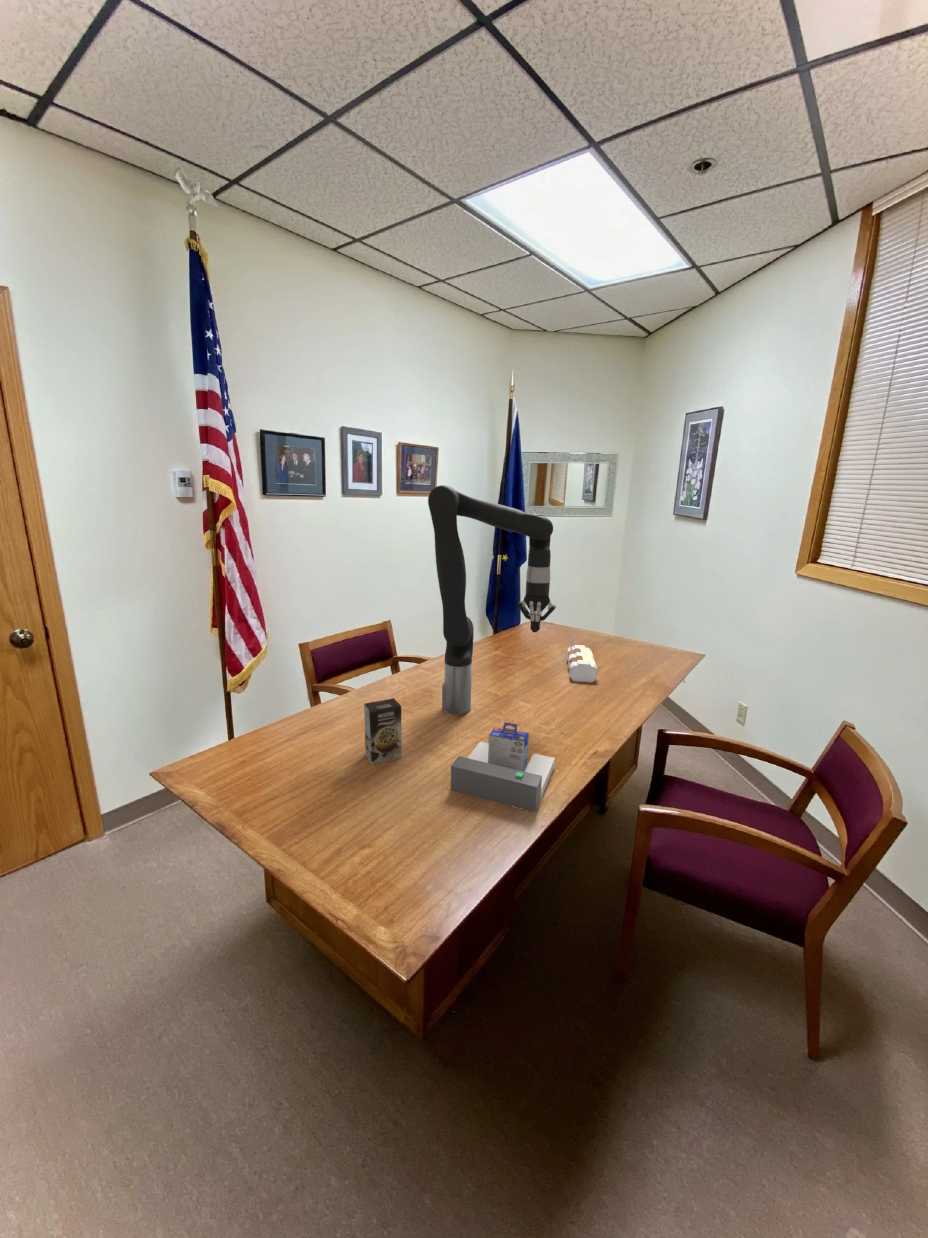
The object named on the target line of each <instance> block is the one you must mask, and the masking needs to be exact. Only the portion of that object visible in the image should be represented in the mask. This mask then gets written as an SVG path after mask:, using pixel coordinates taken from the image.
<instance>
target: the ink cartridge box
mask: <svg viewBox="0 0 928 1238" xmlns="http://www.w3.org/2000/svg"><path fill="white" fill-rule="evenodd" d="M508 726H509V727H512V728H514V729H512V728H507V727H508ZM529 733H530V732H526V731H520V730H518V724H516V723H512V722H506V721H504V723H503V726H502V728H501V727H493V729H492V730H491V732H490V733H489V735H488V743H489V748H488V763H490V764H494V765H498V766H503V767H507V768H511V769H515V770H520V771H525V769H526V767H527V765H528V754H529Z"/></svg>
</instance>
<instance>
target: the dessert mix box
mask: <svg viewBox="0 0 928 1238" xmlns="http://www.w3.org/2000/svg"><path fill="white" fill-rule="evenodd" d="M363 706H364V707H363V709H364V711H363V713H364V750H365V751H364V752H365V753H364V754H365V756H366V758H367V759H368V761H369V764H370V765H372V766H373V765H377V764H382V763H385V762H389V761H394V760H397V759H398V760H399V759H402V758H403V753H402V751H403V748H402V745H403V744H402V743H403V742H402V730H403V729H402V705H401V704H400V703H399V702H398V701H397V700H396V699H395V698H394V697H393V698H388V699H383V700H378V701H377V700H376V701H372V702H366V703H364V704H363Z"/></svg>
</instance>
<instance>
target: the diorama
mask: <svg viewBox="0 0 928 1238" xmlns="http://www.w3.org/2000/svg"><path fill="white" fill-rule="evenodd" d="M573 637H574V636H573V635H571V638H570V646H569V647H568V648H567V651H566V658H567V666H568V670H569V672H568V673H569V678H570V679H571V681H572V682H583V683H594V682H595V681H596V680H597V675H598V667H597V664H596V661H595V658H594V655H593V652H592V651H593V650H592V649H591V648H590V647H586V646H585V645H582V644H574V645H573ZM575 650H580V651H576V652H575ZM570 652H575V653H571V654H570ZM578 657H579V658H580V657H581V658H582V659H577V658H578ZM572 659H577V660H576V661H572V662H571V660H572Z"/></svg>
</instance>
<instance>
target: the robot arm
mask: <svg viewBox="0 0 928 1238" xmlns="http://www.w3.org/2000/svg"><path fill="white" fill-rule="evenodd" d="M427 497H428V498H427V503H428V509H429V514H430V517H431V521H432V526H433V531H434V550H435V555H434V556H435V564H436V573H437V580H438V586H439V588H438V589H439V593H440V598H441V603H442V620H443V621H442V622H443V623H442V629H443V630H442V632H443V633H442V634H443V638H444V639H445V641H446V646H445V653H444V682H443V683H442V687H441V689H442V690H441V693H442V696H441V697H442V698H441V702H442V703H441V710H442V711H445V712H447V713H449V714H450V715H451V714H452V715H463V714H467V713H469V712H470V711H471V710H472V709H471V708H472V707H471V706H472V675H473V674H472V672H473V671H472V670H473V668H472V667H473V666H472V663H473V653H474V652H473V651H474V630H475V629H474V624H473V622H472V620H471V618H469V616H467V612H466V611H467V610H466V589H467V570H466V561H465V560H466V559H465V555H464V550H463V546H462V542H461V539H460V536H459V530H458V519H457V517H458V516H459V517H465V518H469V519H473V520H476V521H478V522H481V523H482V524H483V523H484V524H486V525H489V526H492V527H495V528H498V529H500V530H501V529H502V530H505V531H509V532H514V533H518V534H520V535H523V536H526V537H528V539H529V542H528V543H529V544H528V545H529V548H528V549H529V550H528V555H527V556H528V557H527V570H526V575H525V577H526V579H525V580H526V581H525V596H524V597H523V600H522V601H519V602H518V603H517V605H516V606H517V608H518V609H519V610H520V611H521V613H522V615H523V616H524V618H525V619H527V620H529V621H530V631H531V632H532V633H536V634H537V633H538V632H539V631H540V629H541V622H542V621H546V619H548V617H549V616H550V614H552V613H553V612H554V611H555V610H556V609H557V606H556V605H555V604H553V603H552V602H551V599H550V588H551V586H550V583H551V556H552V555H551V548H550V546H551V536H552V534H553V533H554V525H553V522H552V521H551V520H550V519H549V518H547V517H546V516H543V515H537V514H534V513H533V514H532V513H527V512H524V511H523V510H521V509H517V508H514V507H512V506H511V507H510V506H506V505H503V504H499V503H493V502H490V501H485V500H481V499H478V498H474V497H471V496H469V495H467V494H464V493H462V492H460V491H458V490H455V488H453V487H452V486H449V485H444V484H441V485H437V486H435V487H434V488H433V489H432V490H431V491H430V492H429V494H428V496H427ZM527 608H528V609H529V610H528V609H527ZM546 608H547V611H546V612H545V613H544V614H542V613H543V611H544V610H545V609H546Z"/></svg>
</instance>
